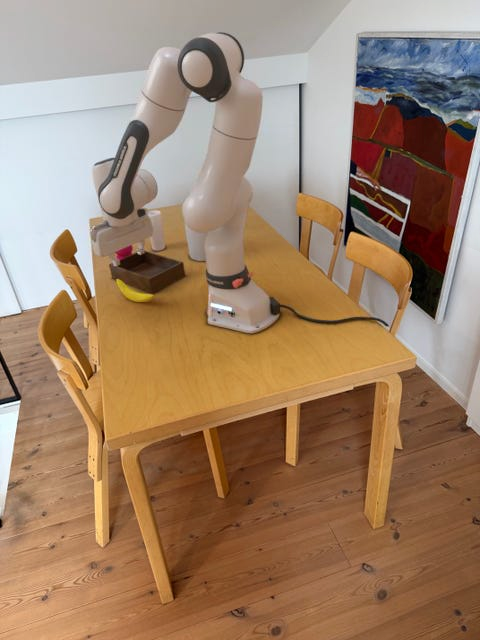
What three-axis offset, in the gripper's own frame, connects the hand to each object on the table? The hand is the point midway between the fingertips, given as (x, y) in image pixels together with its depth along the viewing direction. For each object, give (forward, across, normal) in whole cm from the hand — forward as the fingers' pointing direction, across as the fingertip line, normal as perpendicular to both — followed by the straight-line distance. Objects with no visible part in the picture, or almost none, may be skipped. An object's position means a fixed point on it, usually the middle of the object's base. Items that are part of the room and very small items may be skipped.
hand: (129, 259), depth 141 cm
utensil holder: (+15, +40, +7) cm, 43 cm away
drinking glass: (+14, +34, +29) cm, 47 cm away
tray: (+15, +14, +12) cm, 23 cm away
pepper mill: (+14, +20, +33) cm, 41 cm away
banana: (+15, 0, +1) cm, 15 cm away
